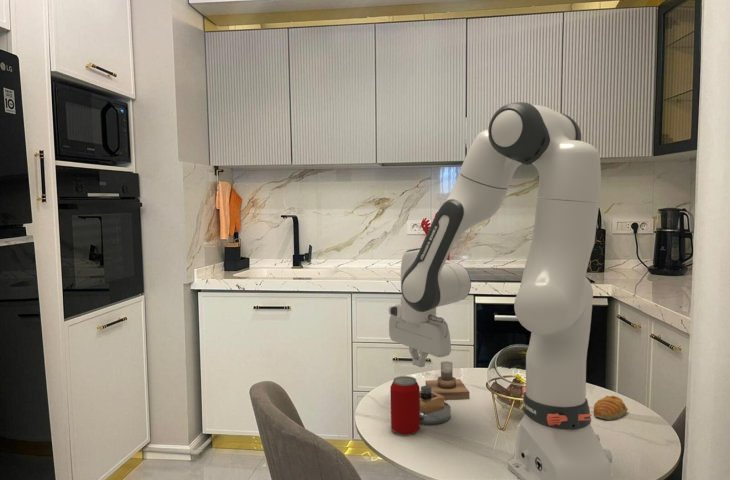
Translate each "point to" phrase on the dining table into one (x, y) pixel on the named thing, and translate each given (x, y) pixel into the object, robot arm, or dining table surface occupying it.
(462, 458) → the dining table surface
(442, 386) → the walnut stand
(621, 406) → the pastry
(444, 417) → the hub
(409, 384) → the beverage can
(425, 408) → the wooden square frame
